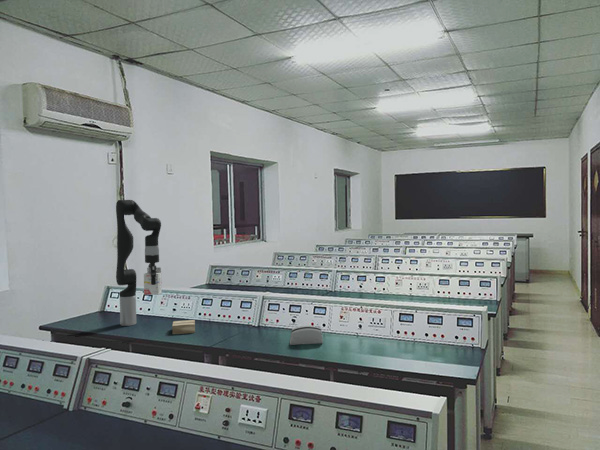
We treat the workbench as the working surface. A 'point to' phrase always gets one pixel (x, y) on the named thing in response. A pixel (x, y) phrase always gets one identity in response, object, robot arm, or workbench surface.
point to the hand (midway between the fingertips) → (152, 283)
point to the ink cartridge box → (150, 288)
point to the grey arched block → (306, 335)
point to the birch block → (183, 327)
